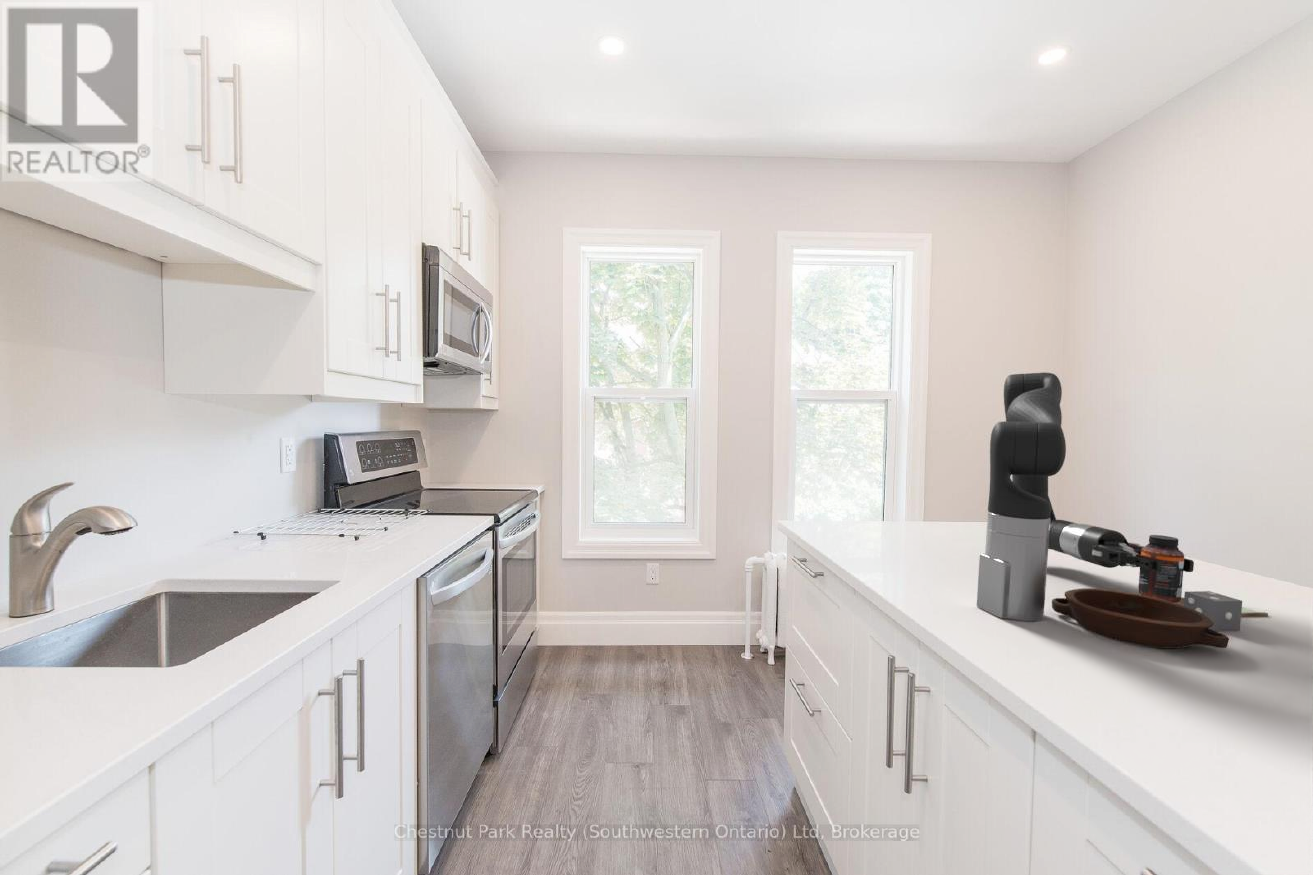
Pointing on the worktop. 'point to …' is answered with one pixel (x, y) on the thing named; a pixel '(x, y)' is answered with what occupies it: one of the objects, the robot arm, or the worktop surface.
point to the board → (1244, 611)
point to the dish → (1138, 619)
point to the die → (1216, 609)
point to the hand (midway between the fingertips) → (1175, 566)
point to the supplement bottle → (1163, 569)
